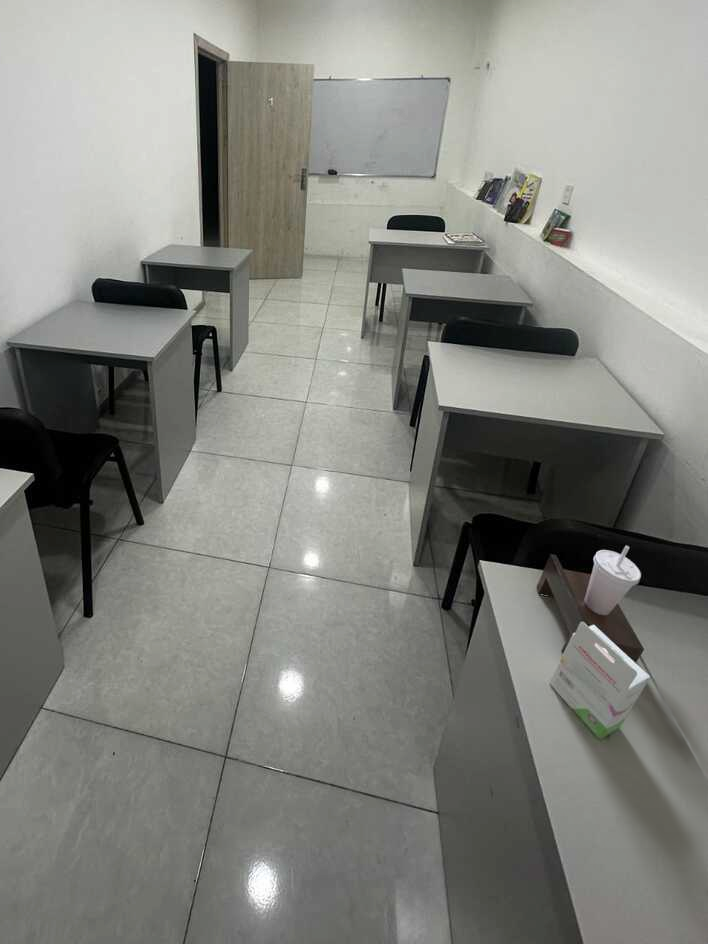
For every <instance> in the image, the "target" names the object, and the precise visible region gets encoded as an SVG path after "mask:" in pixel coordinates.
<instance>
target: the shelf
mask: <svg viewBox="0 0 708 944" xmlns="http://www.w3.org/2000/svg"><path fill="white" fill-rule="evenodd" d="M591 574H592V573H591ZM591 574H590V573H585V572H580V571H574V570H569V569H564V568H563V566H562V563H561V562H560V559H559V558H558V556H557V555H556V554H552V553H551V554H549V557H548V559H547V561H546V564H545V566H544V568H543V570H542V573H541V575H540V578H539V580H538V583H537V584H536V587H535V589H536V588H537V590H538V592H537V594H538V593H539V594H543V595H548V596H552V597H551V598H553V597H555V598H554V599H555V603H556V604H557V606H558V609H559V611H560V613H561V616H562V618H563V620H564V622H565V624H566V627H567V630H568V631H569V634H568V637H567V638H566V640H565V642H564V645H563V646H562V648H561V650H560V651H561V653H562V655H563V653H564V651H565V649H566V647H567V645H568V643H569V641H570V639H571V637H572V635H573V633H575V632H576V630H577V628H578V626H579V624H580V623H581V622H584V623H585V624H586V625H587V626H588V627H589V626H591V625H595V626H596V627H597V628H598V629H599V630H600V631H601V632H602V633H603V634H604V635H606V636H607V637H608V638H609V639H610V640H611V641H612V642H613V643H614V644H615V645H616V646H617V647H618V648H620V649H621V650H622V651H623V652H624V653H625V654H626V655H627V656H628V657H629V658H630V659H632V660H633V661H634V662H635V663H636V664H637V662H638V661H639V658H640V657H641V655H642V654H643V653H644V650H645V648H644V646H643V645H642V643H641V641H640V640H639V638H638V636H637V634H636V633H635V631H634V628H633V627H632V626H631V624H630V622H629V620H628V618H627V617H626V615H625V613H624V611H623V609H622V608H621V606H620V604H619V602H618V603H617V605H616V606H615V607H614V608H613V609H612V610H611V612H610V613H609V614H608V615H600V614H598V613H596V612H594V611H592V610H591V609H590V608H589V607H588V606H587V605H586V603H585V596H586V592H587V589H588V585H589V581H590V578H591ZM537 590H536V591H537ZM543 595H542V596H543ZM548 596H547V597H548Z"/></svg>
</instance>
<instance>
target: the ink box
mask: <svg viewBox="0 0 708 944" xmlns="http://www.w3.org/2000/svg"><path fill="white" fill-rule="evenodd" d="M650 678H651V676H650V675H649V674H648V673H647V672H646V671H645V670H644V669H642V668H641V667H640V666H639V664H637V662H636V663H635V662H634V661H633V660H632V659H630V658H629V657H628V656H627V655H626V654H625V653H624V652H623V651H622V650H621V649H620V648H618V647H617V646H616V645H615V644H614V643H613V642H612V641H611V640H610V639H609V638H608V637H607V636H606V635H604V634H603V633H602V632H601V631H600V630H599V629H598V628H597V627H596V626H595V625H591V626H589V627H588V626H587V625H586V624H585V623H584V622H581V623H580V624H579V626H578V628H577V630H576V632H575V633H573V635H572V637H571V639H570V641H569V643H568V645H567V647H566V649H565V651H564V653H563V654H562V656H561V657H560V660H559V662H558V663H557V665H556V667H555V670H554V672H553V673H552V676H551V678H550V680H549V685H550V686H551V687H552V688H553V690H554V691H555V692H556V693H557V694H558V695H559V696H560V697H561V698H562V699H563V700H564V702H565V703H566V704H567V705H568V706H569V707H570V708H571V710H572V711H573V712H574V713H575V714H576V715H577V716H578V717H579V719H580V720H581V721H582V722H583V723H584V725H586V726H587V728H588V729H589V730H590V731H591V732H592V733H593V734H594V736H596V738H597V739H598V740H600V741H601V740H602V739H604V738H605V737H606V736H608V735H610V734H611V733H613V732H614V731H616V730H617V729H619V728H621V726H622V724H623V723H624V721H625V720H626V718H627V717H628V715H629V714H630V712H631V710H632V708H633V707H634V705H635V703H636V702H637V700H638V699H639V697H640V696H641V693H643V690H644V688H645V687H646V685H647V684H648V682H649V680H650Z"/></svg>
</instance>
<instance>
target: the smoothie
mask: <svg viewBox="0 0 708 944" xmlns="http://www.w3.org/2000/svg"><path fill="white" fill-rule="evenodd" d="M629 550H630V546H629V545H625V546H624V548H623V549H622V551H621V553H618V552H617V551H613V550H609V549H608V550H607V549H600V550H598V551H596V553H595V555H594V556H593V559H592V560H593V567H592V570H591V578H590V581H589V585H588V589H587V592H586V596H585V603H586V605H587V606H588V607H589V608H590V609H591V610H592V611H594V612H596V613H598V614H600V615H608V614H609V613H610V612H611V610H612V609H613V608H614V607H615V606H616V605H617V603H618V604H619V602H620V601H622V599H623V598H624V597H625V595H626V594H627V593H628V592H629V591H630V590H631V589H632V587H633V586H636V585H638V584H639V583H640V580H641V577H642V572H641V570H640V569H639V567H637V564H635V563H634V562H633V561H631V559H629V558H628V557H626V556H627V553H628V552H629Z"/></svg>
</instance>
